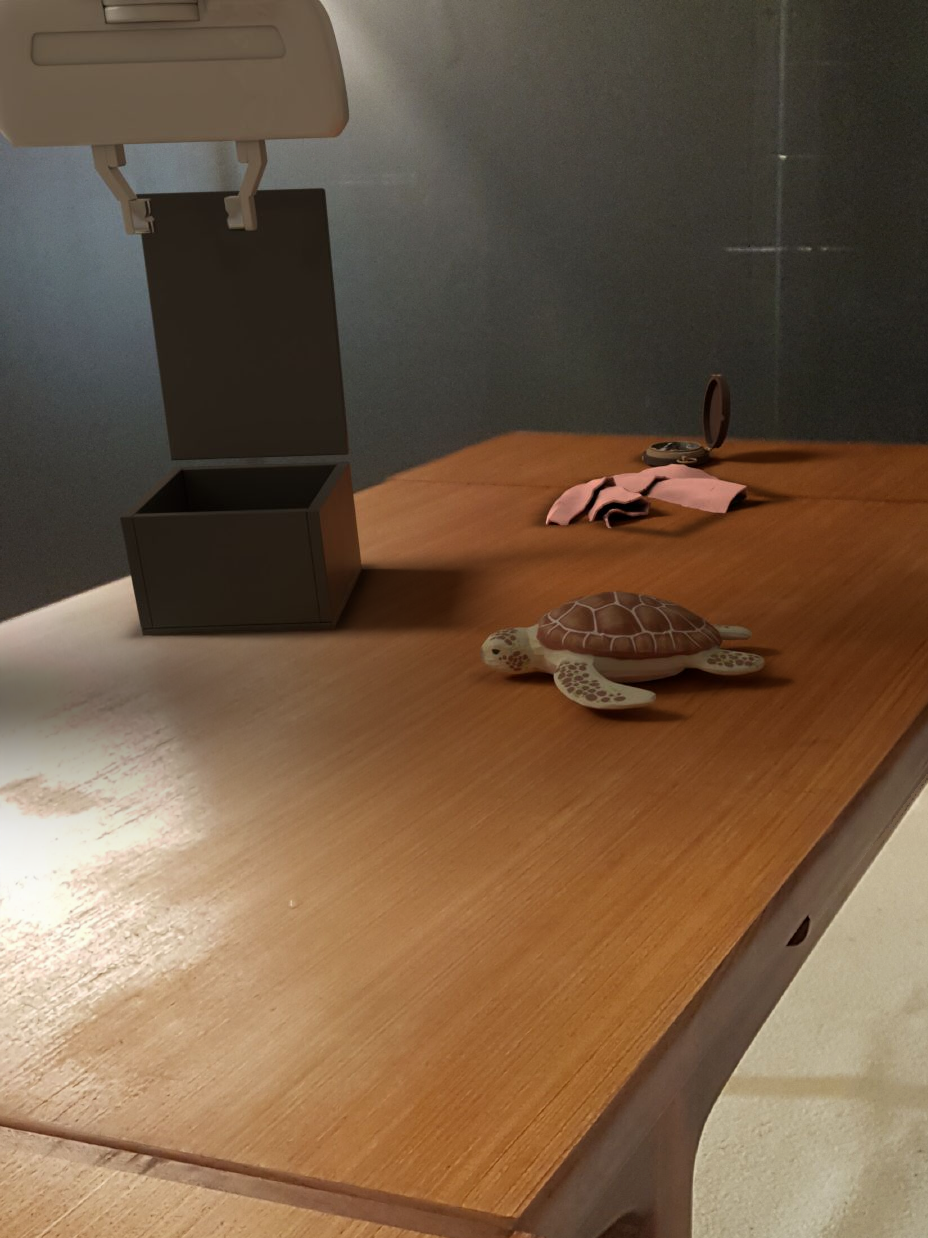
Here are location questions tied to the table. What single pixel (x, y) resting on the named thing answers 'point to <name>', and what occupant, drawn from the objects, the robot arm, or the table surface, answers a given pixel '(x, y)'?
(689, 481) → the cloth
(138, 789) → the table surface
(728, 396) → the compass
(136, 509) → the box
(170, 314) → the box lid
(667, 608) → the decorative turtle
